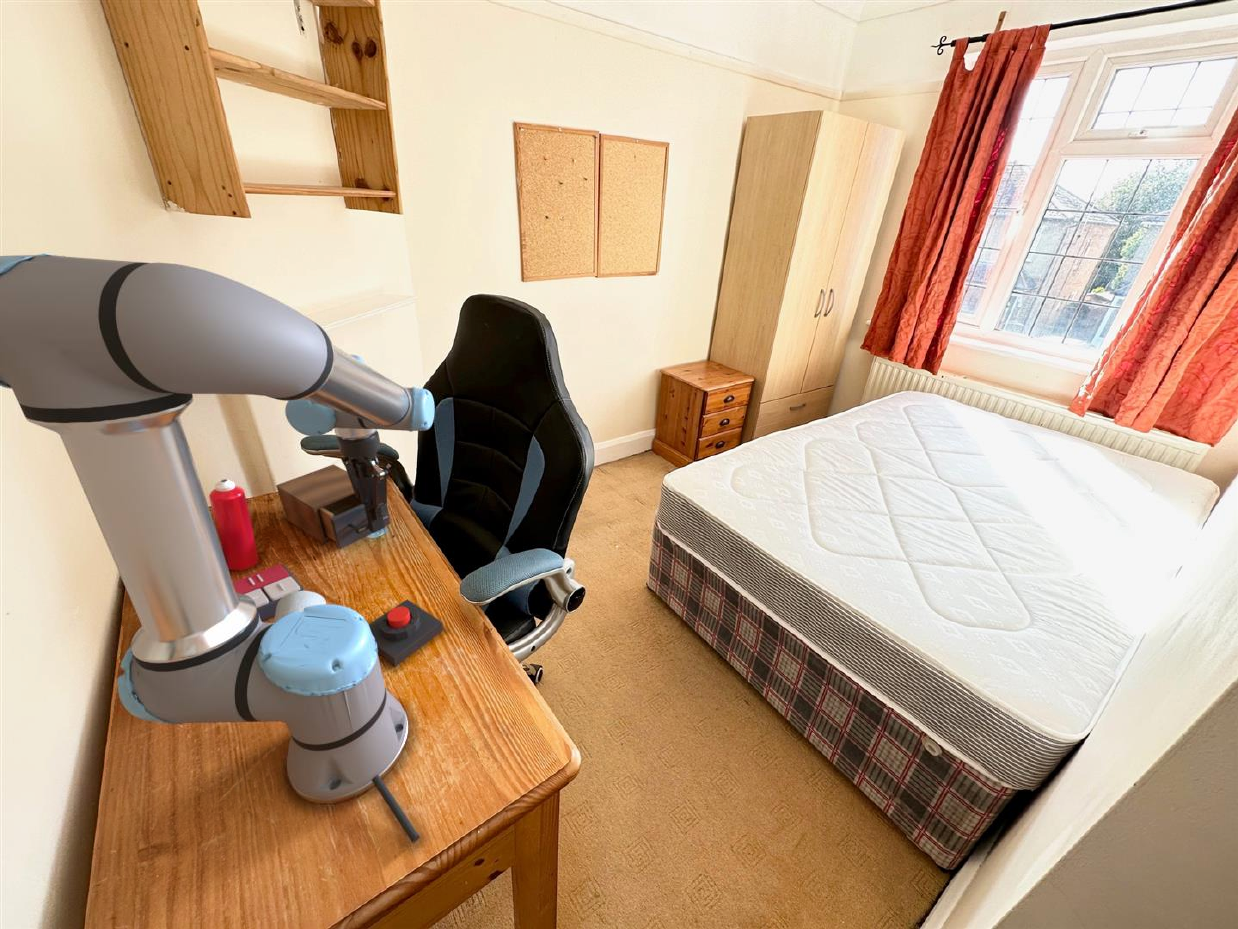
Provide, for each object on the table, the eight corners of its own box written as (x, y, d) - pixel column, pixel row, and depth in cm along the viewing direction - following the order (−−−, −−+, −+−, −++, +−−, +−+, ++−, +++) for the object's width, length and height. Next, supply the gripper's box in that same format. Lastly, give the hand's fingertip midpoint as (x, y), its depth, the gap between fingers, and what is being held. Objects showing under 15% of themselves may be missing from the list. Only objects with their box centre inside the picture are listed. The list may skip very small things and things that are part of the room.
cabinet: (377, 516, 120) (370, 483, 115) (322, 543, 109) (312, 507, 105) (341, 496, 126) (333, 464, 122) (286, 519, 116) (275, 485, 112)
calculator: (304, 586, 92) (205, 627, 81) (308, 603, 94) (212, 645, 83) (282, 560, 98) (188, 595, 87) (286, 577, 100) (194, 613, 89)
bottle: (220, 563, 100) (199, 481, 91) (249, 551, 105) (230, 471, 96) (236, 574, 98) (216, 491, 89) (264, 560, 103) (247, 480, 94)
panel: (443, 630, 89) (440, 614, 87) (395, 667, 82) (391, 650, 80) (408, 607, 94) (405, 592, 92) (360, 640, 86) (356, 624, 84)
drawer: (401, 530, 114) (396, 502, 110) (351, 556, 104) (344, 527, 101) (355, 503, 122) (349, 477, 119) (304, 526, 113) (296, 498, 109)
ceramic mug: (275, 660, 81) (264, 627, 78) (282, 626, 88) (272, 594, 84) (346, 643, 85) (338, 611, 82) (348, 611, 92) (340, 581, 88)
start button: (414, 619, 87) (413, 612, 86) (397, 631, 84) (395, 624, 83) (402, 610, 88) (400, 603, 87) (384, 622, 85) (382, 615, 85)
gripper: (394, 435, 96) (410, 531, 107) (356, 419, 102) (375, 511, 113) (358, 448, 90) (379, 548, 101) (320, 429, 96) (344, 526, 107)
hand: (377, 528), depth 107 cm, fingers closed
